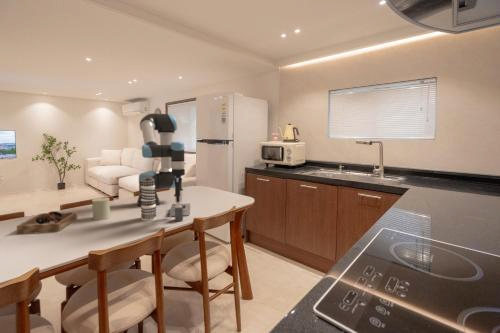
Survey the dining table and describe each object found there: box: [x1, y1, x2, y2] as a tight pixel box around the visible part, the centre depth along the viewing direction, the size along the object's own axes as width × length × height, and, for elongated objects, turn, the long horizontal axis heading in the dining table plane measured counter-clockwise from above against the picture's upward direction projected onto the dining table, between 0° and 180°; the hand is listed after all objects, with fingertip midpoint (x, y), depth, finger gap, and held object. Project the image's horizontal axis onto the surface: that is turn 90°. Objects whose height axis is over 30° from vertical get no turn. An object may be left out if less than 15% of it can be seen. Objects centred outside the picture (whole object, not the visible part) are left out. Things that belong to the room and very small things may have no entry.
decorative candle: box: [140, 177, 157, 222], centre depth 157 cm, size 9×9×25 cm
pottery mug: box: [36, 211, 63, 224], centre depth 145 cm, size 12×10×8 cm
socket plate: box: [169, 203, 191, 217], centre depth 172 cm, size 12×16×4 cm
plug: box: [174, 206, 184, 222], centre depth 156 cm, size 4×4×8 cm
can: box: [91, 196, 111, 221], centre depth 158 cm, size 9×9×12 cm
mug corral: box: [16, 211, 78, 235], centre depth 145 cm, size 19×21×4 cm
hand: (178, 204), depth 155 cm, fingers open, 13 cm apart
